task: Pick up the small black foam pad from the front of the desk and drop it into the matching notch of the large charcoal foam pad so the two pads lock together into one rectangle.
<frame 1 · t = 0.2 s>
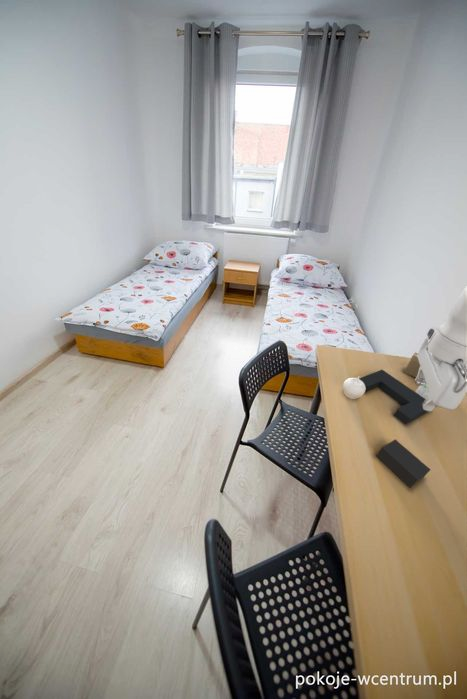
hand: (422, 395, 67), 21 cm above the table, tool pointing down, fingers open, 8 cm apart
ink box: (427, 398, 99), on the table
small pad: (398, 466, 74), on the table
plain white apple: (350, 395, 95), on the table
big pad: (390, 397, 97), on the table
ink box 2: (417, 376, 109), on the table
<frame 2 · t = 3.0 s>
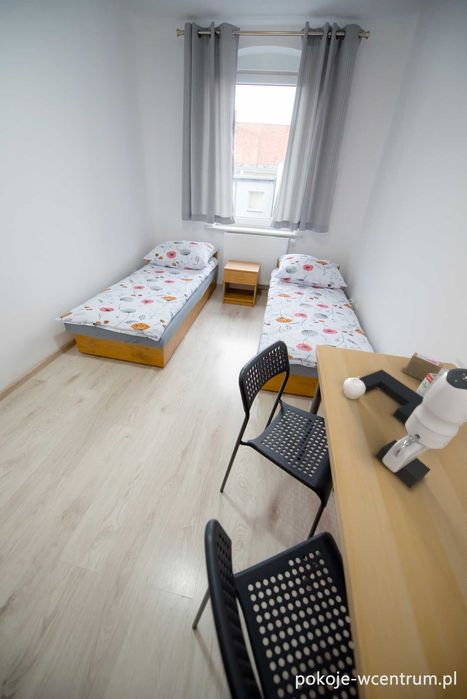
hand: (401, 463, 73), 2 cm above the table, tool pointing down, fingers closed on small pad, 6 cm apart
small pad: (398, 466, 74), on the table, touching gripper
everything else where it was.
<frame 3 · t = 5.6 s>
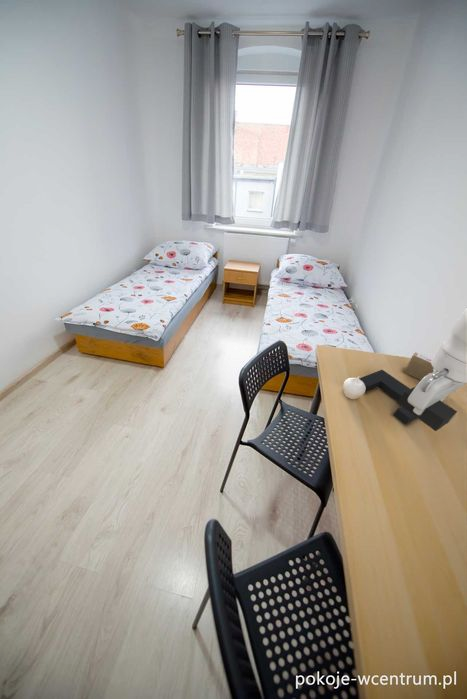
hand: (425, 407, 69), 17 cm above the table, tool pointing down, fingers closed on small pad, 6 cm apart
small pad: (421, 412, 70), point 15 cm above the table, touching gripper
everything else where it was.
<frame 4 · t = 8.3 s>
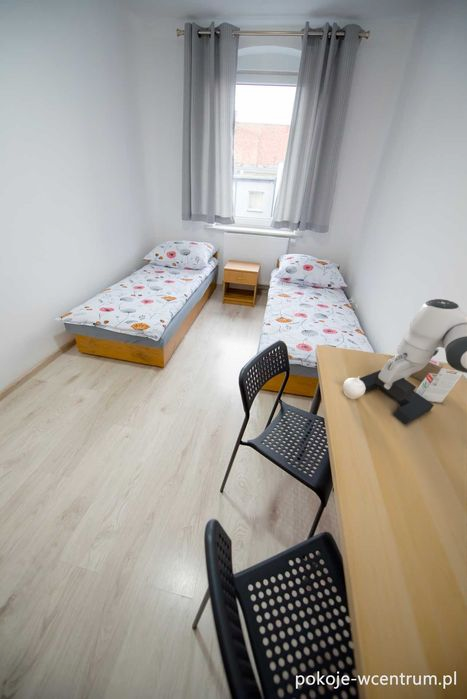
hand: (393, 384, 91), 7 cm above the table, tool pointing down, fingers closed on small pad, 6 cm apart
small pad: (391, 388, 92), point 6 cm above the table, touching gripper
everything else where it was.
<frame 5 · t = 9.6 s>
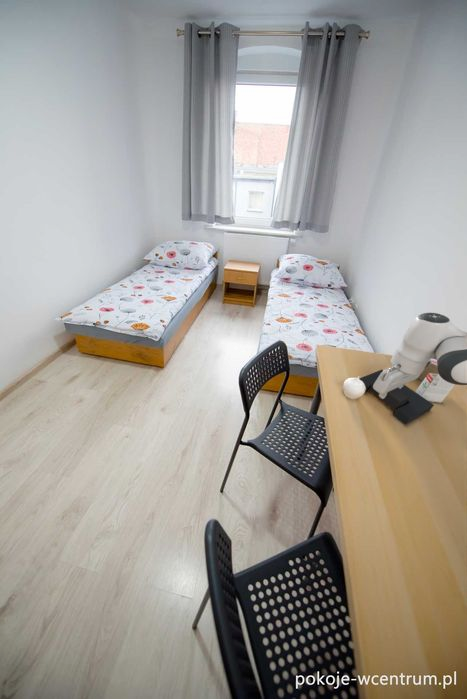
hand: (388, 394, 93), 3 cm above the table, tool pointing down, fingers closed on small pad, 6 cm apart
small pad: (386, 397, 94), point 1 cm above the table, touching gripper
everything else where it was.
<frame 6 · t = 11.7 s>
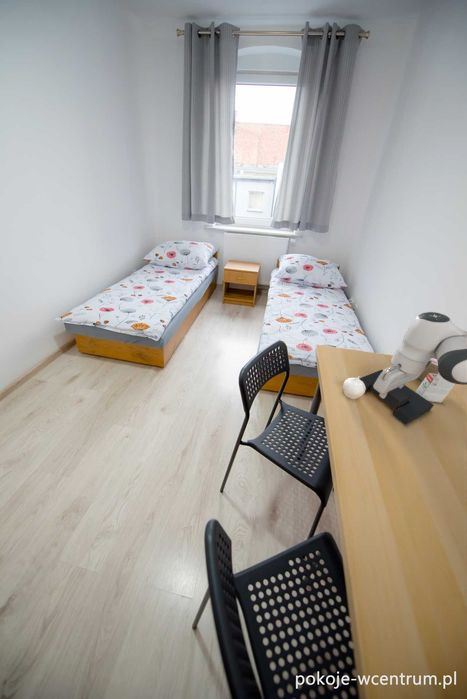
hand: (389, 393, 93), 3 cm above the table, tool pointing down, fingers closed on small pad, 6 cm apart
small pad: (386, 397, 94), point 1 cm above the table, touching gripper
everything else where it was.
when the fingers open (3 cm above the table, at t = 13.6 s): small pad drops 1 cm, on the table.
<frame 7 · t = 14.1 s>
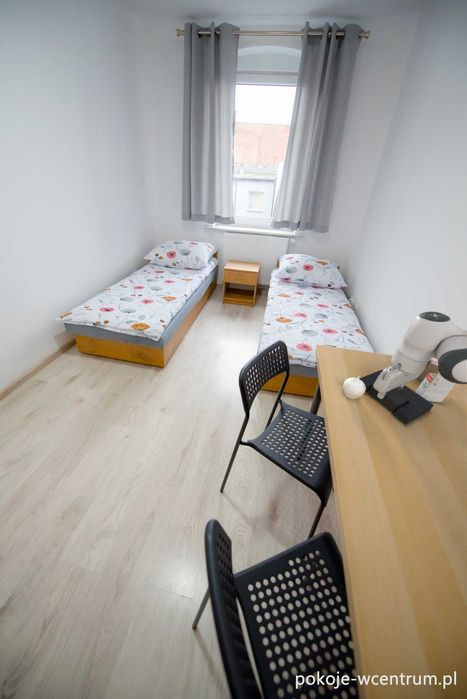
hand: (389, 393, 93), 3 cm above the table, tool pointing down, fingers open, 8 cm apart
small pad: (385, 400, 95), on the table
everything else where it was.
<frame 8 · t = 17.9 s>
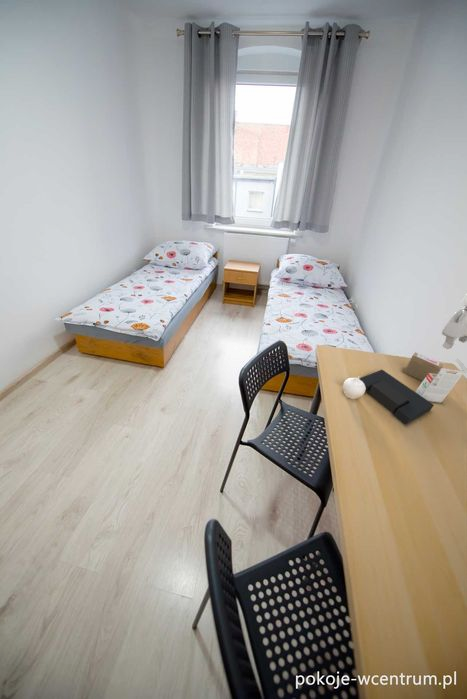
hand: (454, 344, 83), 24 cm above the table, tool pointing down, fingers open, 8 cm apart
nothing on the table moved.
at the end: small pad 0.0 cm from the target spot on the big pad, point 0.0 cm above the big pad's base; small pad tilted 0°; the gripper is holding nothing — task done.
